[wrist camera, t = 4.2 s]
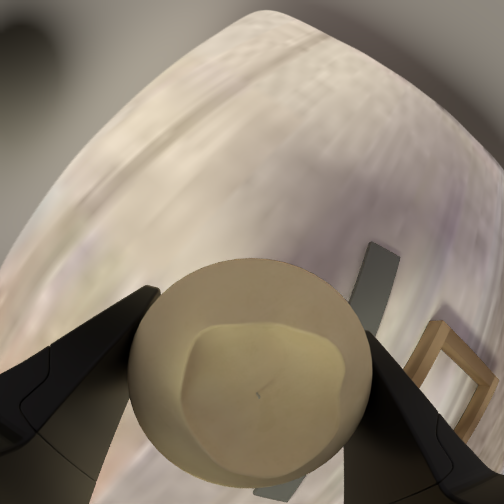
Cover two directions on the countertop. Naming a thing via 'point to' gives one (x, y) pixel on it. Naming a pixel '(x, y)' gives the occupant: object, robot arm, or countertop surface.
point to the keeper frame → (462, 355)
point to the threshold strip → (369, 313)
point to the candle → (249, 373)
